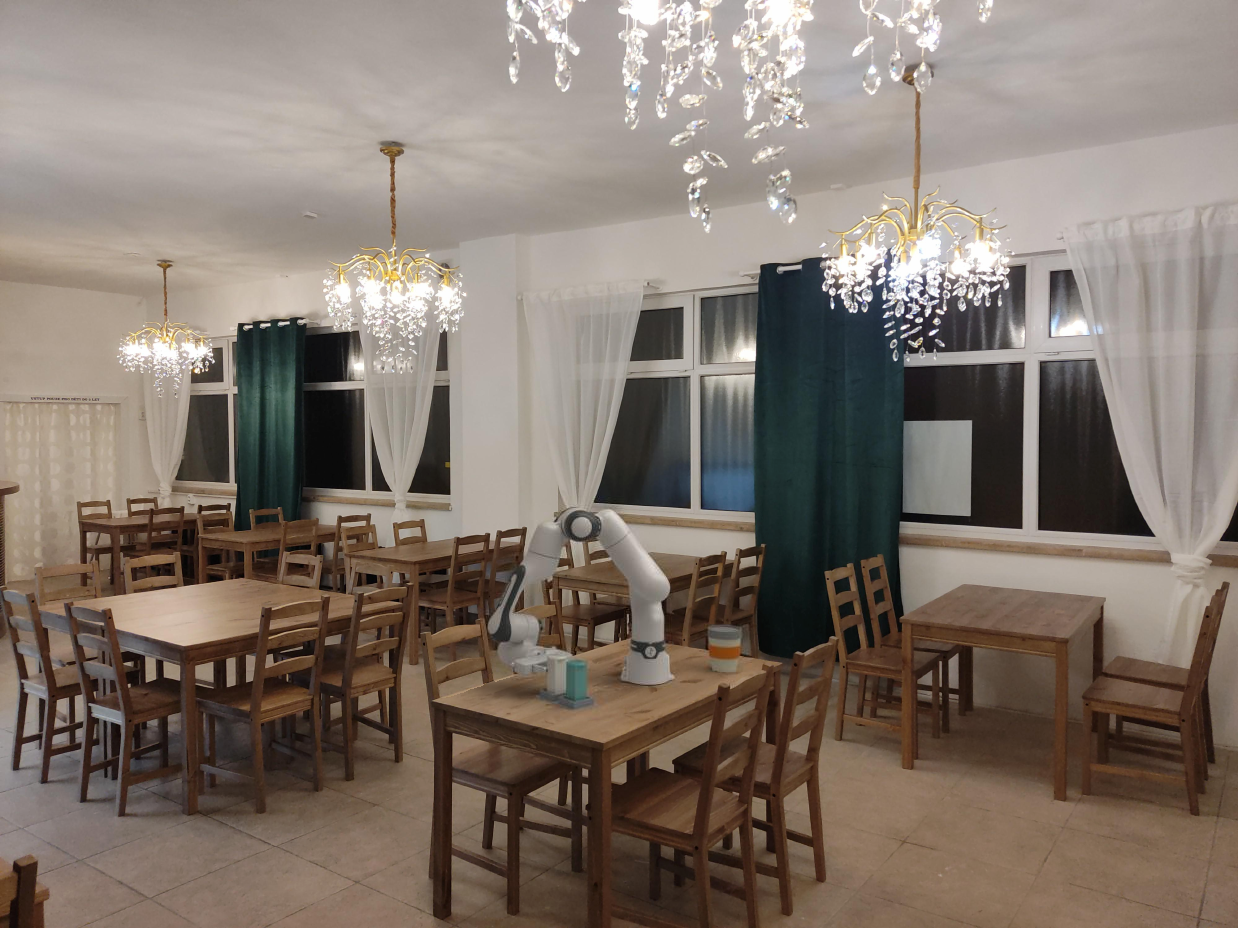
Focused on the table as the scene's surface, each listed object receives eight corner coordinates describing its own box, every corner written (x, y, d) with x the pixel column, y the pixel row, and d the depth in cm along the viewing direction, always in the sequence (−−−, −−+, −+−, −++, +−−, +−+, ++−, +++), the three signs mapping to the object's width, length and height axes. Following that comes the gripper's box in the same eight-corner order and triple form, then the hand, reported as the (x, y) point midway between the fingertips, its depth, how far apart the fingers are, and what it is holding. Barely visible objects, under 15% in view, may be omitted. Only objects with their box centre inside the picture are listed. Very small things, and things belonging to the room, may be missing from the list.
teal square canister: (563, 703, 271) (563, 661, 270) (577, 699, 275) (577, 658, 274) (574, 707, 267) (575, 665, 266) (589, 704, 270) (589, 662, 270)
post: (544, 696, 278) (544, 655, 278) (558, 692, 282) (558, 652, 282) (554, 700, 274) (555, 658, 274) (569, 696, 278) (569, 655, 278)
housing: (534, 700, 279) (534, 689, 278) (559, 694, 285) (559, 684, 285) (573, 715, 264) (573, 704, 263) (599, 709, 270) (599, 697, 270)
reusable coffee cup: (743, 666, 323) (744, 625, 323) (739, 675, 311) (740, 632, 311) (709, 663, 326) (710, 623, 326) (704, 672, 314) (704, 630, 314)
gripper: (506, 654, 281) (531, 663, 270) (557, 645, 294) (583, 653, 284) (506, 674, 281) (531, 683, 270) (557, 664, 294) (583, 672, 284)
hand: (558, 667), depth 277 cm, fingers open, 8 cm apart
